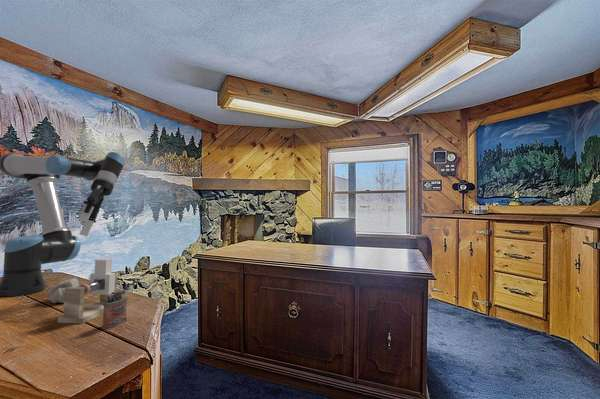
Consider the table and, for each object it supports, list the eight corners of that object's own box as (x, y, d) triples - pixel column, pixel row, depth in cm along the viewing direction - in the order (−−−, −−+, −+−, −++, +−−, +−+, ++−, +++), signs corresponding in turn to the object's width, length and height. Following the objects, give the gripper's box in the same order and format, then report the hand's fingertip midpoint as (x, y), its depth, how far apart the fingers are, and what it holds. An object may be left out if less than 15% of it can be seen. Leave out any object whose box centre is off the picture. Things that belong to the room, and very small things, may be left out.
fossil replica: (47, 307, 105) (81, 304, 113) (52, 284, 106) (85, 282, 113) (41, 298, 113) (73, 295, 120) (45, 276, 113) (77, 275, 121)
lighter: (108, 330, 86) (110, 295, 86) (98, 328, 87) (100, 294, 87) (129, 320, 94) (130, 288, 94) (120, 319, 95) (121, 288, 95)
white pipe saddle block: (95, 291, 106) (97, 258, 107) (114, 292, 106) (115, 258, 106) (89, 294, 103) (91, 259, 104) (108, 294, 103) (110, 260, 103)
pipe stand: (99, 304, 109) (100, 275, 109) (120, 305, 109) (121, 276, 109) (57, 322, 91) (59, 288, 91) (82, 323, 91) (84, 288, 91)
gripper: (115, 170, 116) (94, 217, 105) (112, 199, 134) (94, 242, 123) (93, 164, 113) (69, 211, 102) (93, 195, 131) (73, 237, 120)
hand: (82, 228), depth 112 cm, fingers open, 13 cm apart
